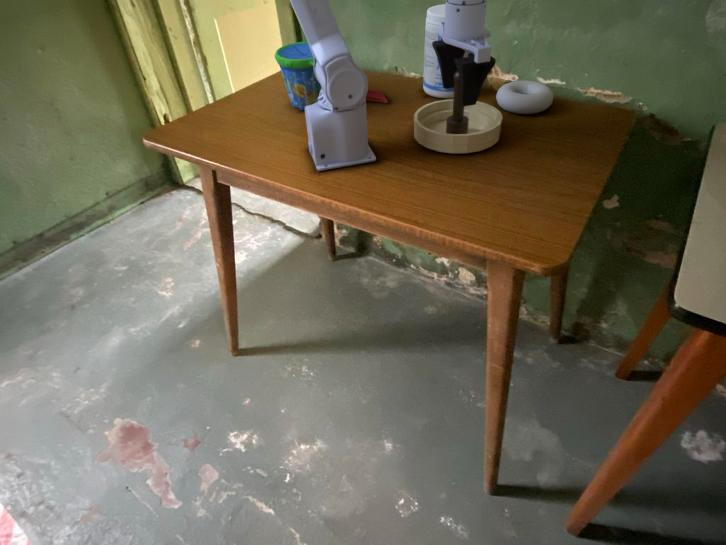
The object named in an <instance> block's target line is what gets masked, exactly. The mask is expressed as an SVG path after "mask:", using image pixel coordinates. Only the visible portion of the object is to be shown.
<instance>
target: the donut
mask: <svg viewBox="0 0 726 545" xmlns="http://www.w3.org/2000/svg"><path fill="white" fill-rule="evenodd" d="M495 100H496V102H497V105H498V106H499V107H500V108H501V109H503V110H505V111H507V112H509V113H513V114H517V115H533V114H539V113H541V112H544V111H545V110H547V109H549V107H550V106H551V105H552V104H553V101H554V92H553V91H552V89H551V88H550V86H548V85H546V84H545V83H542V82H539V81H534V80H525V79H523V80H515V81H514V80H513V81H510V82H507V83H505V84H503V85H502V86H501V87H499V88H498V90H497V92H496V95H495Z"/></svg>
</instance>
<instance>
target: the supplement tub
mask: <svg viewBox="0 0 726 545" xmlns="http://www.w3.org/2000/svg"><path fill="white" fill-rule="evenodd" d="M445 7H446V3H443V4H442V3H441V4H436V5H433V6H431V7H429V8H428V9H427V10H426V17H425V28H424V29H425V31H424V48H423V49H424V54H423V75H422V76H423V77H422V89H423V91H424V93H426V94H427V95H428V96H430V97H433V98H438V99H444V100H447V99H454V88H448V89H444V87H443V83H442V78H441V71H440V66H439V62H438V58H437V55H436V52H435V50H434V48H433V46H432V42H434V41H439V40H441V38H442V37H441V36H439V24H440V22H445ZM464 57H467V58H468V53H467V52H466V51H465V54H464ZM464 57H463V58H464Z"/></svg>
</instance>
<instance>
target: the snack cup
mask: <svg viewBox="0 0 726 545" xmlns="http://www.w3.org/2000/svg"><path fill="white" fill-rule="evenodd" d="M274 59H275V61H276V63H277V64H278V66H279V68H280V73H281V76H282V79H283V82H284V86H285V89H286V92H287V95H288V100H289V102H290V105H291V106H292V107H294V108H296V109H298V110H300V111H305V107H306V106H309V105H312V104H315V103H316V102H318V97H319V94H320V91H321V89H322V86H321V85H320V83H319V82H318V80H317V79H316V77H315V74H314V58H313V55H312V52H311V50H310V47H309V44H308V41H297V42H293V43H292V42H291V43H288V44H284V45H282V46H281V47H279V48H278V49H276V50H275V53H274Z"/></svg>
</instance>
